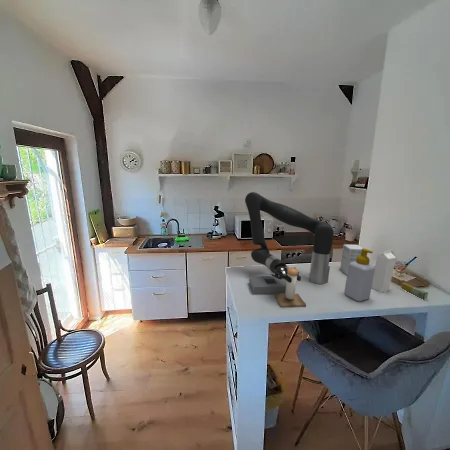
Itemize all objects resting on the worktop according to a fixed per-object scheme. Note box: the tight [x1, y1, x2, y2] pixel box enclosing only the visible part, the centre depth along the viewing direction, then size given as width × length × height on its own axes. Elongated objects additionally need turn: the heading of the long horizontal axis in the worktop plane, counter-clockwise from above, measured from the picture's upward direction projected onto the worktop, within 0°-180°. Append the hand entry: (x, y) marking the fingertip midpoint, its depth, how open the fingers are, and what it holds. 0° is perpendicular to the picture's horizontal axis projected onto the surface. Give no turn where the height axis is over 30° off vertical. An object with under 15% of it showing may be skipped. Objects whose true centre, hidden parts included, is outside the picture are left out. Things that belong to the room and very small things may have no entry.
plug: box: [285, 267, 299, 299], centre depth 117 cm, size 5×5×14 cm
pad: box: [273, 293, 307, 308], centre depth 119 cm, size 12×10×1 cm
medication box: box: [400, 282, 429, 301], centre depth 129 cm, size 12×3×4 cm, turn 19°
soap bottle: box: [343, 247, 375, 302], centre depth 122 cm, size 9×9×25 cm
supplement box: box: [339, 243, 363, 276], centre depth 152 cm, size 10×9×17 cm
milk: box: [371, 249, 397, 293], centre depth 131 cm, size 6×6×22 cm
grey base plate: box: [248, 275, 287, 295], centre depth 130 cm, size 20×12×4 cm, turn 96°
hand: (295, 279), depth 113 cm, fingers closed on plug, 4 cm apart
